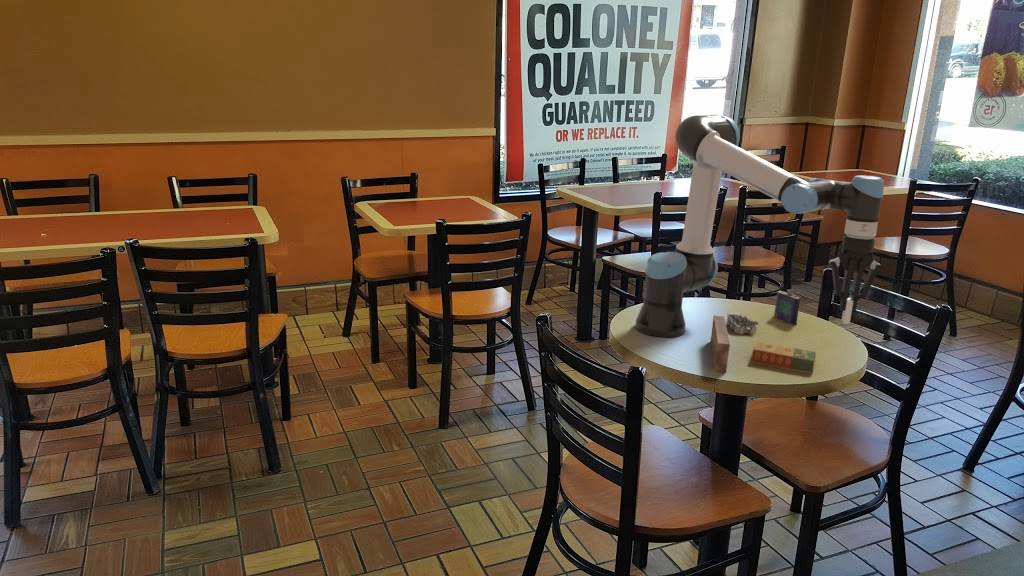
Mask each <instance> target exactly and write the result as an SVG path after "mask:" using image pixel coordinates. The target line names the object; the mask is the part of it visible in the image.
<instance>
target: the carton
mask: <svg viewBox="0 0 1024 576" xmlns="http://www.w3.org/2000/svg"><path fill="white" fill-rule="evenodd" d="M816 353H817V352H816V351H813V350H808V349H802V348H797V347H790V346H787V345H786V346H785V345H779V344H774V343H769V342H763V341H757V340H756V343H755V345H754V347H753V349H752V354H751V359H750V360H751V363H753V364H759V365H763V364H764V365H765V366H768V365H769V367H774V366H775V368H779V367H781V368H780V369H784V368H786V369H785V370H790V371H795V370H796V371H797V372H800V373H805V372H806V373H805V374H811V375H812V374H813V373H814V368H815V362H816V356H817V355H816ZM764 365H763V366H764ZM796 371H795V372H796Z"/></svg>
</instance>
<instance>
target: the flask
mask: <svg viewBox="0 0 1024 576" xmlns="http://www.w3.org/2000/svg"><path fill="white" fill-rule="evenodd" d="M786 291H787V292H786ZM786 291H782V290H778V291H777V292H776V301H775V307H774V314H773V318H775V319H776V318H777V320H779V319H780V321H781V320H783V321H782V322H784V323H787V324H789V325H790V324H791V326H796V325H798V323H797V322H798V317H799V316H798V315H799V308H800V303H801V302H800V301H801V298H800V297H799V296H798V295H794V292H793V291H794V289H786Z"/></svg>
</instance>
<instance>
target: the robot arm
mask: <svg viewBox="0 0 1024 576" xmlns="http://www.w3.org/2000/svg"><path fill="white" fill-rule="evenodd" d="M674 138H675V144H676V146H677V149H678V150H679V152H681V153H682V154H683V155H684V156H686V157H687V158H688V160H689V161H690V162H691V164H692V172H691V179H690V186H689V190H688V191H689V193H688V198H687V199H688V200H687V204H686V205H687V207H686V212H685V217H684V218H685V219H684V225H683V231H682V238H681V241H680V242H679V243H677V244H676V246H675V252H674V251H666V252H663V251H662V252H657V253H654V254H652V255H650V256H649V257H648V259H647V262H646V267H645V279H644V291H643V302H642V303H643V304H642V305H641V307H640V310H639V312H638V315H637V317H636V319H635V325H634V326H635V329H636V330H637V331H638V332H640V333H642V334H646V335H648V336H654V337H659V338H675V337H680V336H682V335H684V334H685V333H686V319H685V317H684V312H683V301H684V300H683V299H684V298H683V297H684V293H689V292H692V291H696V290H701V289H703V288H705V287H707V286H709V285H711V283H713V282H714V280H715V279H716V277H717V275H718V271H719V270H718V269H719V266H718V265H719V264H718V262H717V260H716V257H715V256H714V254H715V250H714V248H713V247H712V246H711V239H712V235H713V226H714V223H715V222H714V221H715V214H716V210H717V205H718V204H717V203H718V197H719V191H720V187H721V180H722V179H721V178H722V173H723V172H724V173H725V174H727V175H729V176H731V177H733V178H735V179H737V181H738V180H739V181H740V182H742V183H744V184H746V185H748V186H750V187H752V188H753V189H755V190H758V191H759V192H761V193H762V194H764V195H767V196H768V197H770V198H772V199H774V200H776V201H778V202H780V203H781V205H782V206H783V208H784V209H785V210H786V212H789V213H790V214H793V215H795V214H796V215H803V214H807V213H812V212H816V211H820V210H821V211H822V210H827V209H829V210H835V211H836V210H837V211H841V212H842V211H843V212H847V214H846V220H845V226H844V232H843V233H844V234H845V235H844V236H843V238H842V246H841V250H840V253H839V254H838V256H837V257H835V258H834V259H833V258H832V259H829V260H828V263H829V265H830V268H831V274H832V282H833V290H834V294H835V296H837V297H838V298H840V302H839V309H840V311H842V315H841V322H842V323H843V325H844V324H845V325H851V323H850V322H851V317H852V312H856V311H857V307H858V306H857V305H858V301H859V300H861V299H866V298H867V296H868V294H869V291H870V289H871V287H872V284H873V283H874V280H875V278H876V275H877V274H878V273H879V271H881V269H882V268H883V265H881V264H880V263H879V262H877V261H875V258H874V257H875V256H874V255H873V254H874V249H875V244H876V243H875V242H876V239H875V237H876V236H877V230H878V225H879V219H880V212H881V209H882V208H881V207H882V201H883V198H884V186H885V181H884V179H883V178H882V177H880V176H876V175H875V176H874V175H855V176H853V177H852V180H851V181H850V182H849V181H840V180H836V179H835V180H833V179H827V178H824V177H823V178H822V177H821V178H818V177H817V178H816V177H814V178H813V177H811V178H809V179H808V180H807V181H806V180H804V179H802V178H800V177H798V176H796V175H795V174H792V173H790V172H788V171H787V170H785V169H783V168H781V167H779V166H777V165H774V164H773V163H771V162H769V161H767V160H765V159H764V158H761V157H759V156H757V155H755V154H753V153H752V152H749V151H747V150H745V149H743V148H741V147H739V144H740V139H741V133H740V129H739V127H738V125H737V123H736V122H735V121H734V120H733V119H732V118H731V117H729V116H726V115H720V114H708V115H705V114H704V115H691V116H689V117H686V118H685V119H683V120H682V121H681V122H680V123H679V124H678V127H677V128H676V130H675V135H674ZM840 263H841V265H842V267H843V268H844V275H843V281H842V287H841V279H840V272H839V271H840V270H839V267H840ZM869 267H870V269H869V271H868V273H867V275H866V277H865V279H864V282H863V284H862V278H863V275H864V271H865V270H866V269H867V268H869ZM853 272H854V278H853V285H852V289H851V288H850V287H851V281H852V275H853ZM861 284H862V285H861ZM850 289H851V297H849V295H850Z"/></svg>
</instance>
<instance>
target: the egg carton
mask: <svg viewBox="0 0 1024 576" xmlns="http://www.w3.org/2000/svg"><path fill="white" fill-rule="evenodd" d="M726 316H727V319H726V326H730V327H729V328H730V329H731V330H733V332H734V333H735V334H739V335H744V334H749V335H754V334H757V333H756V332H757V326H758V325H759V322H758V321H757V320H752V319H750V318H748V316H746V315H744V316H742V314H739V315H738V314H730V313H726ZM744 325H745V326H744Z"/></svg>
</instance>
